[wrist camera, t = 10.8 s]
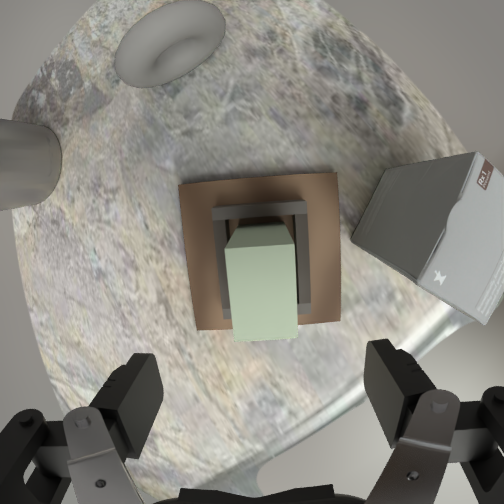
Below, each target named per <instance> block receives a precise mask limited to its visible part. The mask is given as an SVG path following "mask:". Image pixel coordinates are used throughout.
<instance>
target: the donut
mask: <svg viewBox="0 0 504 504" xmlns="http://www.w3.org/2000/svg"><path fill="white" fill-rule="evenodd" d="M225 26H226V23H225V18H224V16H223V14H222V13H221V12H220V10H219V9H218V8H217V7H216V6H215V5H213V4H210V3H207V2H205V1H201V0H181V1H177V2H174V3H170V4H167V5H164V6H162V7H160V8H158V9H156V10H154V11H152V12H150V13H149V14H147V15H146V16H144V17H143V18H142V19H141V20H139V21H138V22H137V23H136V24H134V25H133V26H132V28H131V29H130V30H129V31H128V32H127V33H126V35H125V36H124V37H123V39H122V40H121V42H120V45H119V47H118V49H117V51H116V54H115V70H116V72H117V74H118V75H119V77H120V78H121V79H122V80H123V82H124V83H125V84H128V85H130V86H133V87H137V88H150V87H155V86H159V85H162V84H165V83H168V82H170V81H173V80H175V79H177V78H179V77H181V76H183V75H184V74H186V73H188V72H190V71H191V70H193V69H194V68H195V67H197V66H198V65H200V64H201V63H202V62H203V61H204V60H206V59H207V58H208V57H209V56H210V55H211V54H212V53H213V52H214V50H215V49H216V48H217V47H218V46H219V44H220V42H221V41H222V39H223V37H224V34H225Z"/></svg>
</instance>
